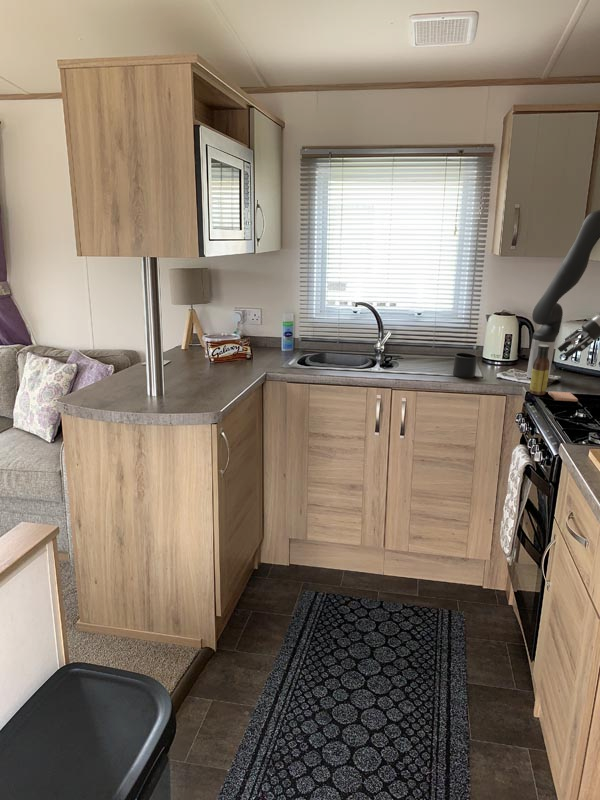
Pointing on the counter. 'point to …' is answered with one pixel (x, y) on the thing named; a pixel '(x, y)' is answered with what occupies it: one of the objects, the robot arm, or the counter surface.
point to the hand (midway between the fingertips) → (562, 352)
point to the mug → (465, 365)
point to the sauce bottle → (540, 371)
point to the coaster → (562, 396)
